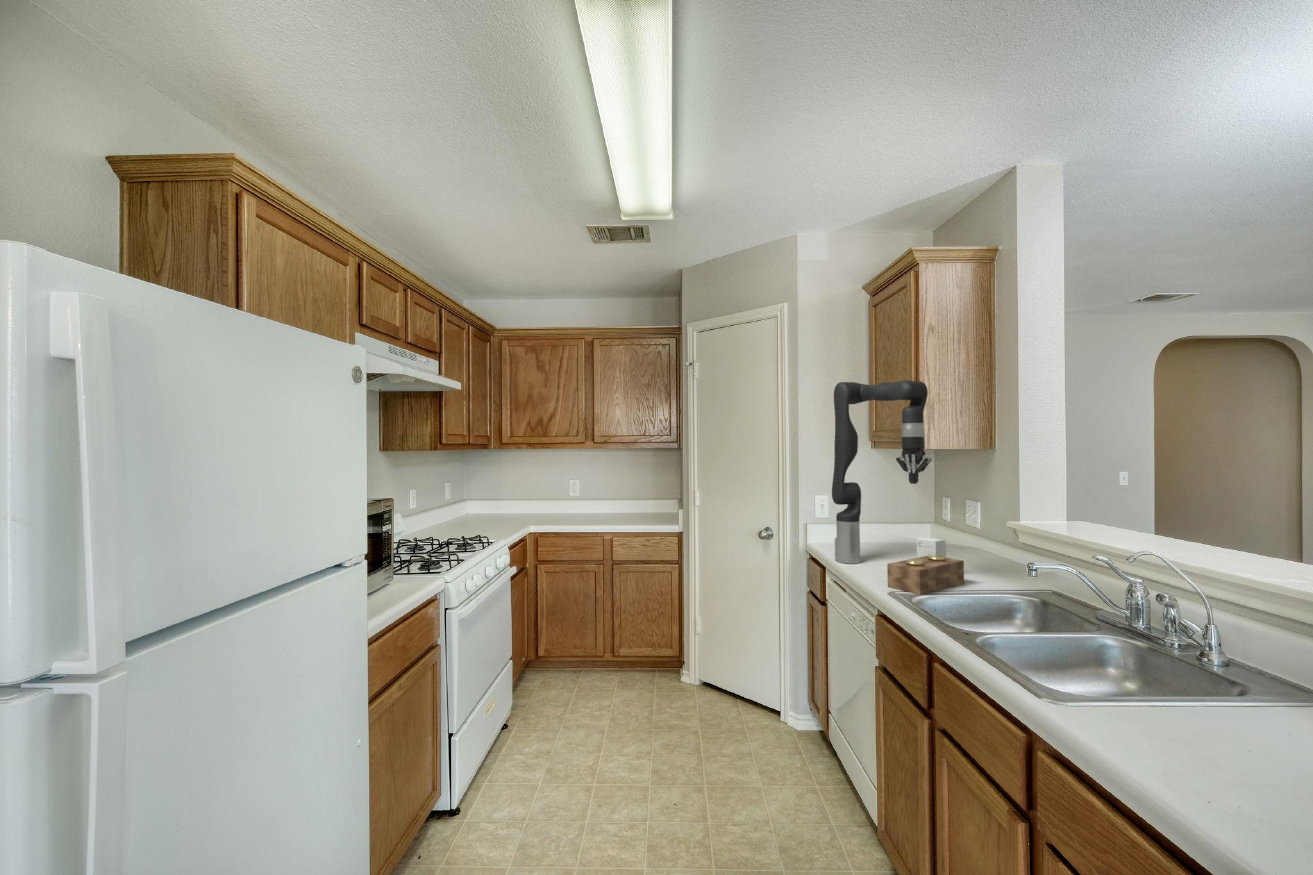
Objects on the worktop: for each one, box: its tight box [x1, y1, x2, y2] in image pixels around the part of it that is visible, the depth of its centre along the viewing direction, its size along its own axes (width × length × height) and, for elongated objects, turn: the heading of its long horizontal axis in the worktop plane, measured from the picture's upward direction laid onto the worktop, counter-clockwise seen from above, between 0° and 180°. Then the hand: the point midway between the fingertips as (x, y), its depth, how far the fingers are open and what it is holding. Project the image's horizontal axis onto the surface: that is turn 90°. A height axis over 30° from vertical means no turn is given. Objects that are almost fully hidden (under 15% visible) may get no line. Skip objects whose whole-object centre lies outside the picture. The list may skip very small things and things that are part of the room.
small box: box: [916, 536, 947, 558], centre depth 206 cm, size 8×6×13 cm
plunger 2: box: [929, 555, 945, 562], centre depth 193 cm, size 5×5×8 cm
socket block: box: [886, 555, 965, 596], centre depth 189 cm, size 12×26×8 cm, turn 122°
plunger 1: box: [906, 559, 923, 567], centre depth 186 cm, size 5×5×8 cm
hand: (913, 483), depth 196 cm, fingers closed
